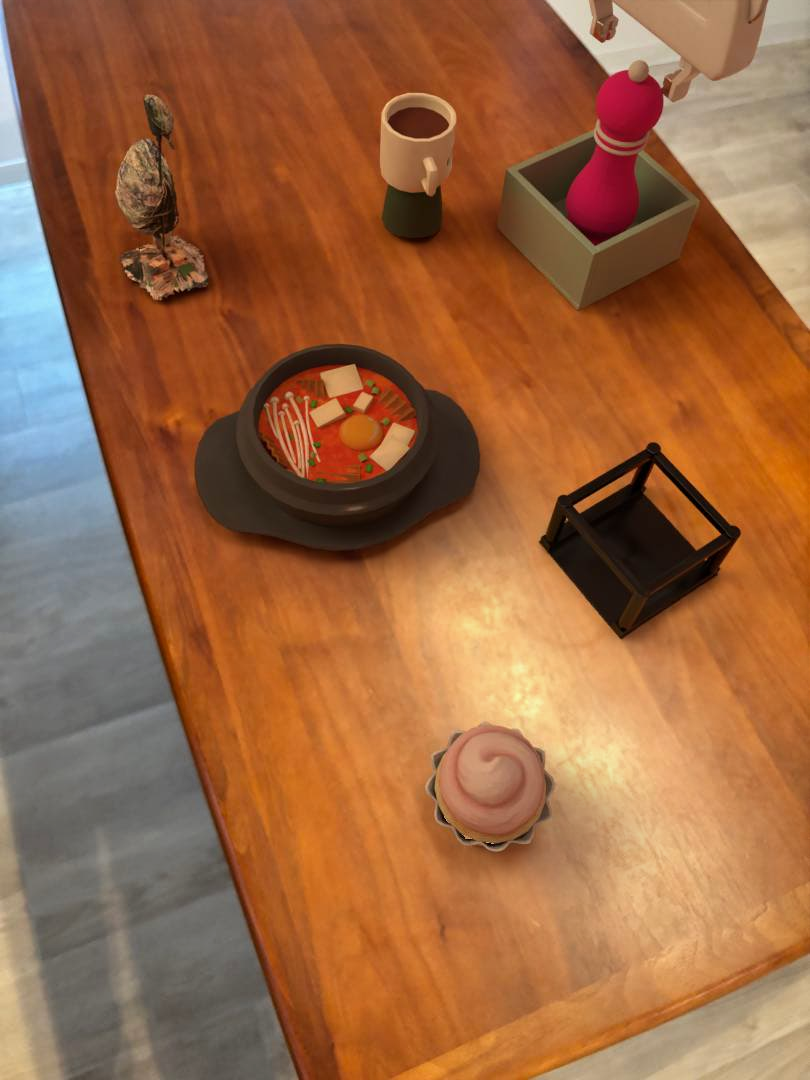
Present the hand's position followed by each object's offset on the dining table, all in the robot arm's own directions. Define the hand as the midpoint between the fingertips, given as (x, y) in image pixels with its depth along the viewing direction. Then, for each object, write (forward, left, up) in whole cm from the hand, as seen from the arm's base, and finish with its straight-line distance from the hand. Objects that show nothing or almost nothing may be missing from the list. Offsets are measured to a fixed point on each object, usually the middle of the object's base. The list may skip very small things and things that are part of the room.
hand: (636, 65), depth 87 cm
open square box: (0, 0, -21) cm, 21 cm away
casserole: (+37, +10, -21) cm, 44 cm away
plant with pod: (+39, -21, -21) cm, 48 cm away
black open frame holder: (+21, +31, -21) cm, 43 cm away
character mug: (+14, -12, -21) cm, 28 cm away
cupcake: (+44, +41, -21) cm, 64 cm away
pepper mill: (0, 0, -20) cm, 20 cm away
